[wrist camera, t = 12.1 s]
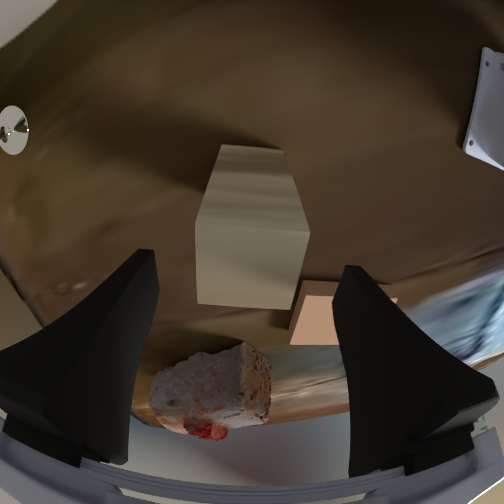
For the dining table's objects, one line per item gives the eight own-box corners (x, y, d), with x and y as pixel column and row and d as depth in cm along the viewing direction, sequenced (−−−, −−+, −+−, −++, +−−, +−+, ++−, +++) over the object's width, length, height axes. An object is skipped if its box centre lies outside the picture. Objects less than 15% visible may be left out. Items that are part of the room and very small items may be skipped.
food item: (192, 387, 38) (185, 450, 30) (151, 361, 34) (136, 430, 26) (276, 363, 33) (280, 438, 25) (238, 330, 29) (235, 419, 21)
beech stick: (222, 144, 18) (195, 223, 10) (283, 149, 18) (310, 232, 10) (218, 198, 20) (197, 303, 12) (275, 203, 20) (289, 309, 12)
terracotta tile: (306, 295, 23) (289, 344, 28) (397, 298, 24) (370, 343, 28) (302, 277, 25) (287, 326, 29) (390, 281, 26) (365, 327, 30)
